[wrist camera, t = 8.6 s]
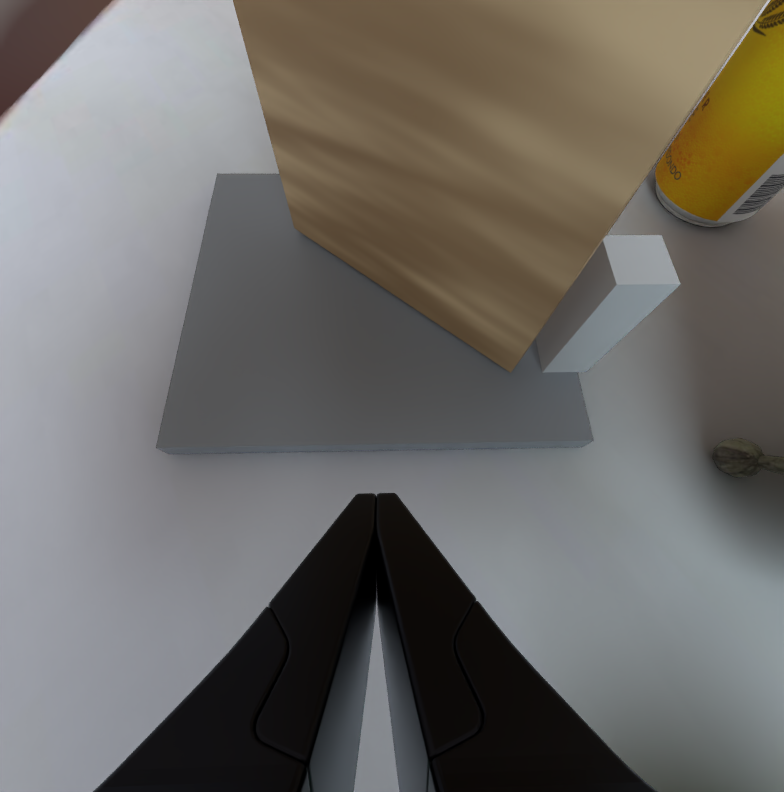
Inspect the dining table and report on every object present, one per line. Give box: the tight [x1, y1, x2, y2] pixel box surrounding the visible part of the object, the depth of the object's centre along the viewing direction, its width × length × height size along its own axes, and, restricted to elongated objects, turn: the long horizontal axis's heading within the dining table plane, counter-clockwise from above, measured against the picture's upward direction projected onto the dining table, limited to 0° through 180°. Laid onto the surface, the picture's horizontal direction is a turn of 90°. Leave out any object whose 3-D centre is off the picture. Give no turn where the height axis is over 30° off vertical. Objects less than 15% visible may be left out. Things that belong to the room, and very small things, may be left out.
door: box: [233, 0, 767, 373], centre depth 13 cm, size 1×13×13 cm, turn 51°
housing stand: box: [156, 174, 681, 454], centre depth 17 cm, size 16×18×7 cm
